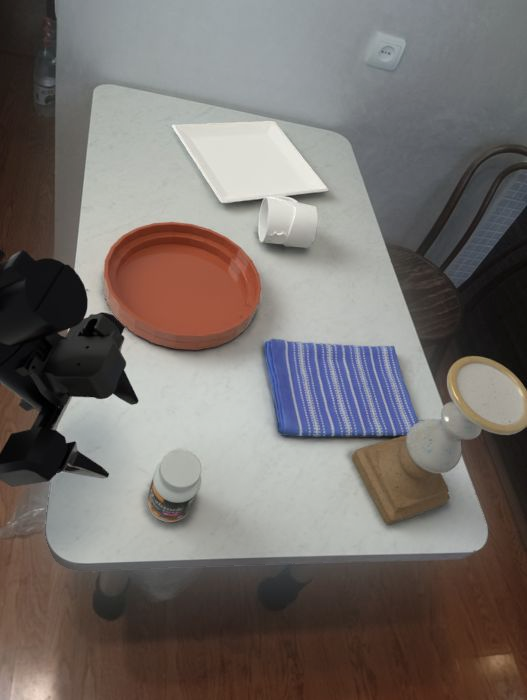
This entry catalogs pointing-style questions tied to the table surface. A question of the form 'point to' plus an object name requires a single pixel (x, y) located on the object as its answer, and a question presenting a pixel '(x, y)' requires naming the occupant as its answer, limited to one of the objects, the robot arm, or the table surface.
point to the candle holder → (441, 439)
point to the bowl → (181, 285)
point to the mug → (287, 222)
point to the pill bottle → (174, 485)
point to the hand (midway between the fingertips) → (121, 437)
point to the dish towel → (338, 390)
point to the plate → (248, 160)
